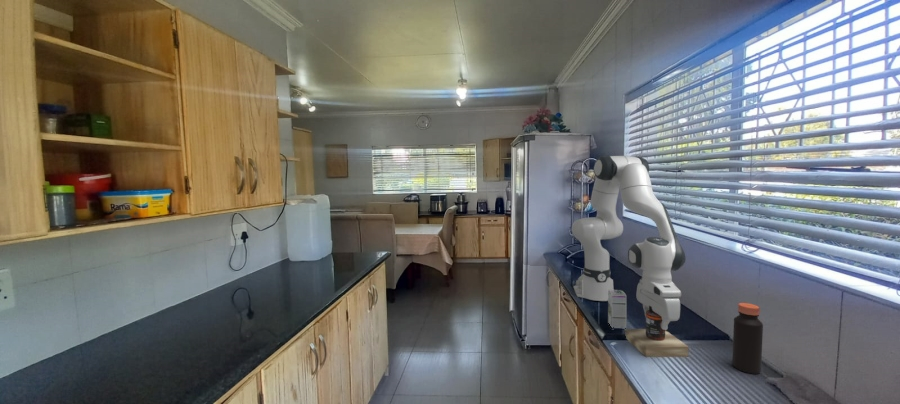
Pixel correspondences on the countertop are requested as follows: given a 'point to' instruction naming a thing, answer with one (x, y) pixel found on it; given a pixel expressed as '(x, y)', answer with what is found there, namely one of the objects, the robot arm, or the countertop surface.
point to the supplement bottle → (654, 325)
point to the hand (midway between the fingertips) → (655, 322)
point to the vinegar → (747, 339)
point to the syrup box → (617, 309)
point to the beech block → (657, 344)
